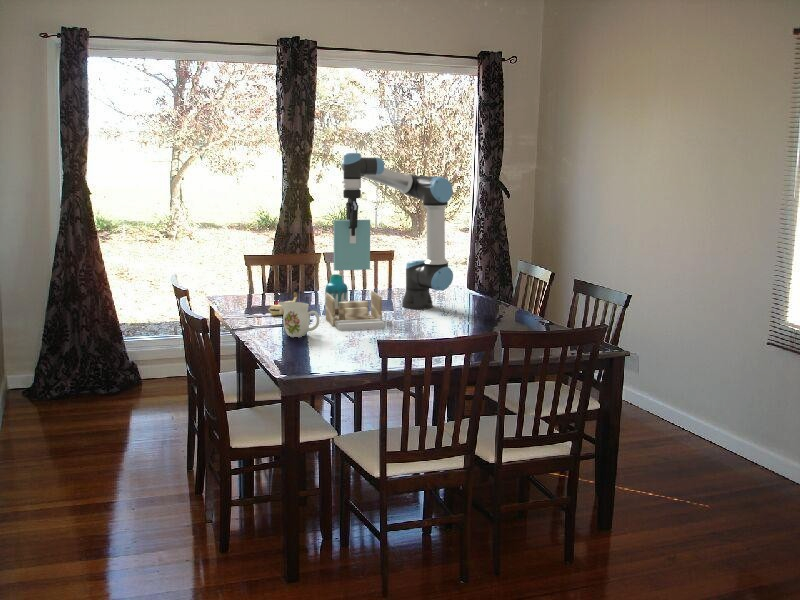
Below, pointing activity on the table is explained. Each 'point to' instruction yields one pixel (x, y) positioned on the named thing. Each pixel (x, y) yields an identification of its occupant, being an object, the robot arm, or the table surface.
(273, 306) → the cat figure
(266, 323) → the table surface
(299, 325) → the white floral mug
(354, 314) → the offcut short
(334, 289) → the vase
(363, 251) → the teal rectangular panel
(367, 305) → the offcut tall
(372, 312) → the rack
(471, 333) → the table surface
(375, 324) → the stand
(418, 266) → the robot arm
